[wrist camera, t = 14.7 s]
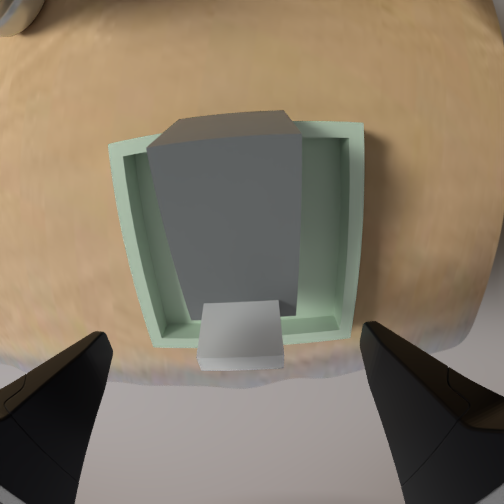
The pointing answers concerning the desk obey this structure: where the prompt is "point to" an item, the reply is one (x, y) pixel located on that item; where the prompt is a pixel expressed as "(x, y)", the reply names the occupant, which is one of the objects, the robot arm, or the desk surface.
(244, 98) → the desk surface
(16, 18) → the plastic bottle
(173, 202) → the grey block with handle
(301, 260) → the tray
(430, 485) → the robot arm
